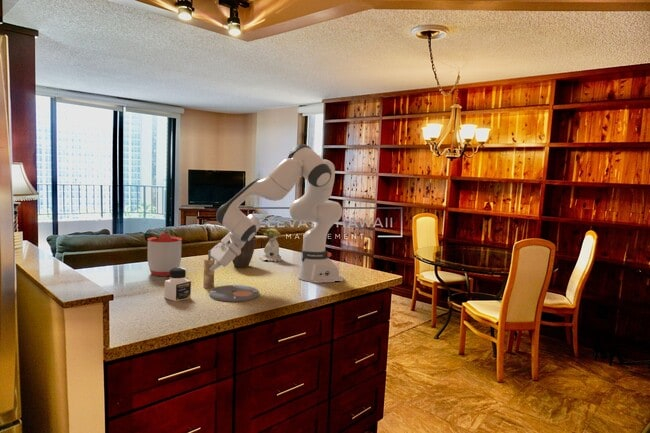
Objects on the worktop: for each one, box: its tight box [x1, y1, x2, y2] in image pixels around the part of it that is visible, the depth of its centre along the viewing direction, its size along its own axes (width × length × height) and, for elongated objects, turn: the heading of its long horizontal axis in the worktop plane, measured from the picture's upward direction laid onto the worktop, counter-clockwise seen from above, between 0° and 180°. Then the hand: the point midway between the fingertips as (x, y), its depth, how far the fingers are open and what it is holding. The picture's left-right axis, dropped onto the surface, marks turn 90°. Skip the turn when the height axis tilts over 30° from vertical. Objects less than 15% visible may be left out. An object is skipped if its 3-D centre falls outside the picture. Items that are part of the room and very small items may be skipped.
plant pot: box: [231, 235, 258, 269], centre depth 224 cm, size 15×15×16 cm
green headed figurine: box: [259, 227, 282, 263], centre depth 245 cm, size 12×13×18 cm
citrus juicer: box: [146, 232, 183, 277], centre depth 201 cm, size 16×17×20 cm
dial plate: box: [209, 284, 260, 303], centre depth 174 cm, size 20×20×1 cm
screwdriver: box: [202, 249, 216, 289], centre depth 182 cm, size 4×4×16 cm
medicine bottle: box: [163, 266, 192, 303], centre depth 165 cm, size 7×7×12 cm
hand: (207, 267), depth 182 cm, fingers open, 8 cm apart
